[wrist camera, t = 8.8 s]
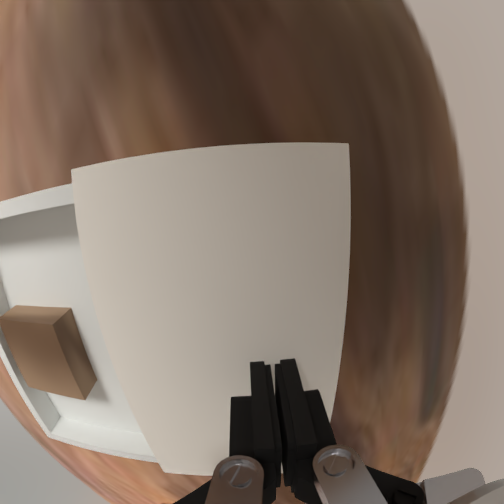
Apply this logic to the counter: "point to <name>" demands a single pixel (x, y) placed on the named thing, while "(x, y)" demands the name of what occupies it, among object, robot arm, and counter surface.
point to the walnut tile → (49, 350)
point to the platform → (215, 280)
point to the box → (80, 301)
